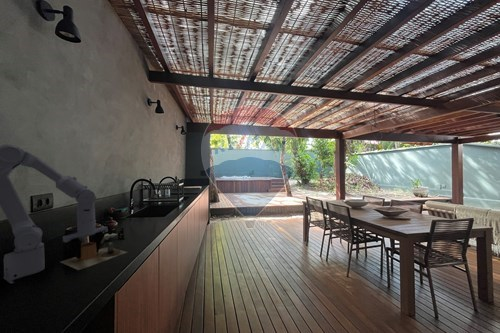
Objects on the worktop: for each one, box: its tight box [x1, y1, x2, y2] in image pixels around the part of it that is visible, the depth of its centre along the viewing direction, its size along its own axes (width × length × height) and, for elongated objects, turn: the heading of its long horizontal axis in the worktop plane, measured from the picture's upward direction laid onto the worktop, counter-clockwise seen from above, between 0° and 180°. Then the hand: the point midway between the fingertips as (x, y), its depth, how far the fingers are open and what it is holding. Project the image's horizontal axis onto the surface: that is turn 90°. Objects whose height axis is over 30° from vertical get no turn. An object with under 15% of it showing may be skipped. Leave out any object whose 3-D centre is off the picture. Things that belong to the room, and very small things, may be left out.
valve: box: [101, 226, 125, 244], centre depth 104 cm, size 7×7×12 cm
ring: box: [78, 241, 97, 260], centre depth 85 cm, size 6×6×5 cm
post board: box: [60, 241, 128, 271], centre depth 85 cm, size 17×15×6 cm
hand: (87, 254), depth 85 cm, fingers closed on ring, 5 cm apart
